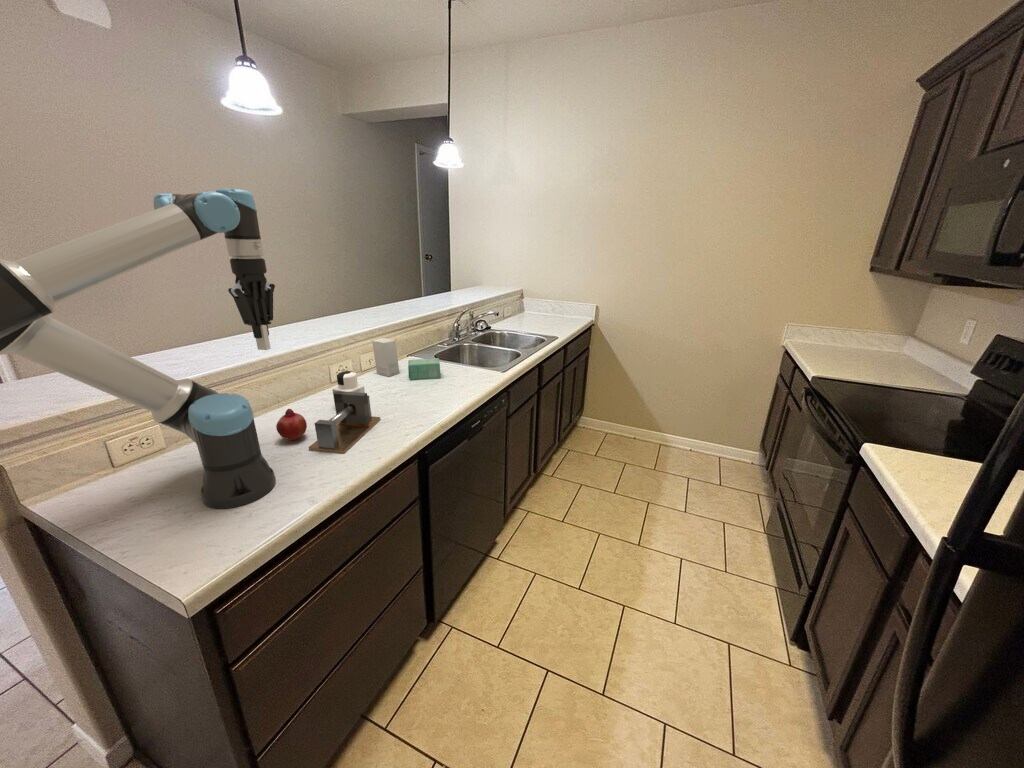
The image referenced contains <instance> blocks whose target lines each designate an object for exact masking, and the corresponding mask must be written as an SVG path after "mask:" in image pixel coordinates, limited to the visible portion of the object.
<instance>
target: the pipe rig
mask: <svg viewBox="0 0 1024 768" xmlns="http://www.w3.org/2000/svg"><path fill="white" fill-rule="evenodd" d="M367 398H368V407H369V415H370V422H369V423H368V424H367V425H361V424H349V423H340V422H341V421H342V420H344V419H345V418H346V417H347V416H349V415H350V414H351V413H352V412H356V406H355V404H348V407H346V408H345V409H344V410H342V411H341V412H339V413H338V414H337V415H336V414H335V415H334V416H333V417H331V418H330V419H329V420H328V419H327V420H326V419H318V420H317V421H315V422H314V428H315V434H316V441H314V442H313V443H312V444H311V445H309V446H308V451H312V452H321V453H322V452H323V453H331V454H332V453H333V454H335V453H336V454H343V455H344V454H346V453H347V452H348V451H349V450H350V449H351V448H352V447H353V446H355V444H356V443H358V442H359V441H360V440H361V439H362V438H363V437H364V436H365V435H366V434H367V433H368V432H369V431H370V430H371V429H373V428H374V427H375V426H376V425H377V424H378V423H379V422H380V421H381V416H372V409H371V408H372V407H371V401H370V400H371V399H370V395H368V394H367Z"/></svg>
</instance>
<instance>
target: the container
mask: <svg viewBox="0 0 1024 768" xmlns="http://www.w3.org/2000/svg"><path fill="white" fill-rule="evenodd" d="M336 380H337V386H335V387H333V388H332V394H333V393H335V392H336V391H346V392H359V393H366V391H365V386H364V384H363V385H362V384H358V383H359V382H358V376H357V373H356V372H355V371H351V370H344V371H341V372H339V373H337V374H336ZM332 396H333V395H332ZM333 398H334V396H333ZM333 403H334V404H335V402H334V401H333Z"/></svg>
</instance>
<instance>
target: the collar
mask: <svg viewBox="0 0 1024 768" xmlns="http://www.w3.org/2000/svg"><path fill="white" fill-rule="evenodd" d="M332 394H333V395H332V396H334V397H333V403H334V402H335V403H334V407H335V415H337V414H338V413H339V412H341V411H342V410H344V409H345V408H346V407H348V404H355V406H356V412H352V413H351V414H350V415H349V416H347V417H346V418H345V419H344V420H342V421H341V422H340V423H349V424H361V425H367V424H368V423H369V422H370V415H369V407H368V398H367V395H368V393H367V392H365V393H359V392H346V391H336V392H335V393H333V392H332Z"/></svg>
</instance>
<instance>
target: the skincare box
mask: <svg viewBox="0 0 1024 768" xmlns="http://www.w3.org/2000/svg"><path fill="white" fill-rule="evenodd" d="M371 342H372V349H373V357H374V363H375V370H376V374H377V375H381V376H384V377H388V378H389V377H393V376H395V375H398V374H400V365H399V358H398V350H397V341H396V339H393V338H385V337H381V338H378V339H374V340H372V341H371Z"/></svg>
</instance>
